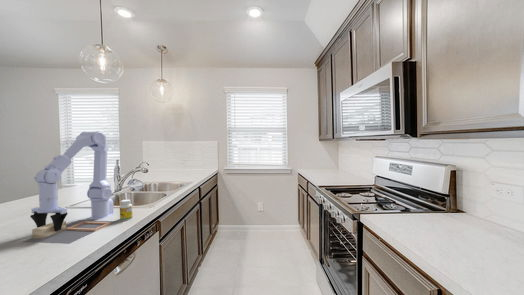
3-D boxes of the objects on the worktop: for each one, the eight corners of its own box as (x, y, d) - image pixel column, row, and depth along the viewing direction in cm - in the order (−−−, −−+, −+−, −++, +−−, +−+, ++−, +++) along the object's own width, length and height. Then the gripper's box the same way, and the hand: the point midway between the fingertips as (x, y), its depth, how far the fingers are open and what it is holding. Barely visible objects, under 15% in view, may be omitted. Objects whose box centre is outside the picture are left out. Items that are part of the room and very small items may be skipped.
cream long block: (57, 228, 102) (57, 220, 101) (66, 229, 101) (65, 221, 101) (32, 238, 92) (32, 229, 92) (42, 238, 91) (41, 229, 91)
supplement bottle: (134, 218, 115) (134, 199, 115) (124, 222, 110) (123, 202, 110) (128, 217, 118) (128, 198, 117) (117, 220, 113) (117, 201, 113)
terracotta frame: (83, 223, 108) (83, 221, 108) (110, 224, 107) (110, 222, 107) (65, 230, 100) (65, 228, 100) (95, 231, 98) (95, 229, 98)
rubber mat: (79, 221, 113) (79, 220, 113) (116, 222, 110) (116, 221, 110) (23, 242, 89) (23, 241, 89) (69, 244, 86) (69, 243, 86)
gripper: (22, 200, 93) (23, 233, 93) (54, 200, 91) (55, 234, 91) (41, 196, 100) (42, 226, 100) (71, 196, 98) (72, 228, 98)
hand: (49, 230), depth 96 cm, fingers open, 7 cm apart
